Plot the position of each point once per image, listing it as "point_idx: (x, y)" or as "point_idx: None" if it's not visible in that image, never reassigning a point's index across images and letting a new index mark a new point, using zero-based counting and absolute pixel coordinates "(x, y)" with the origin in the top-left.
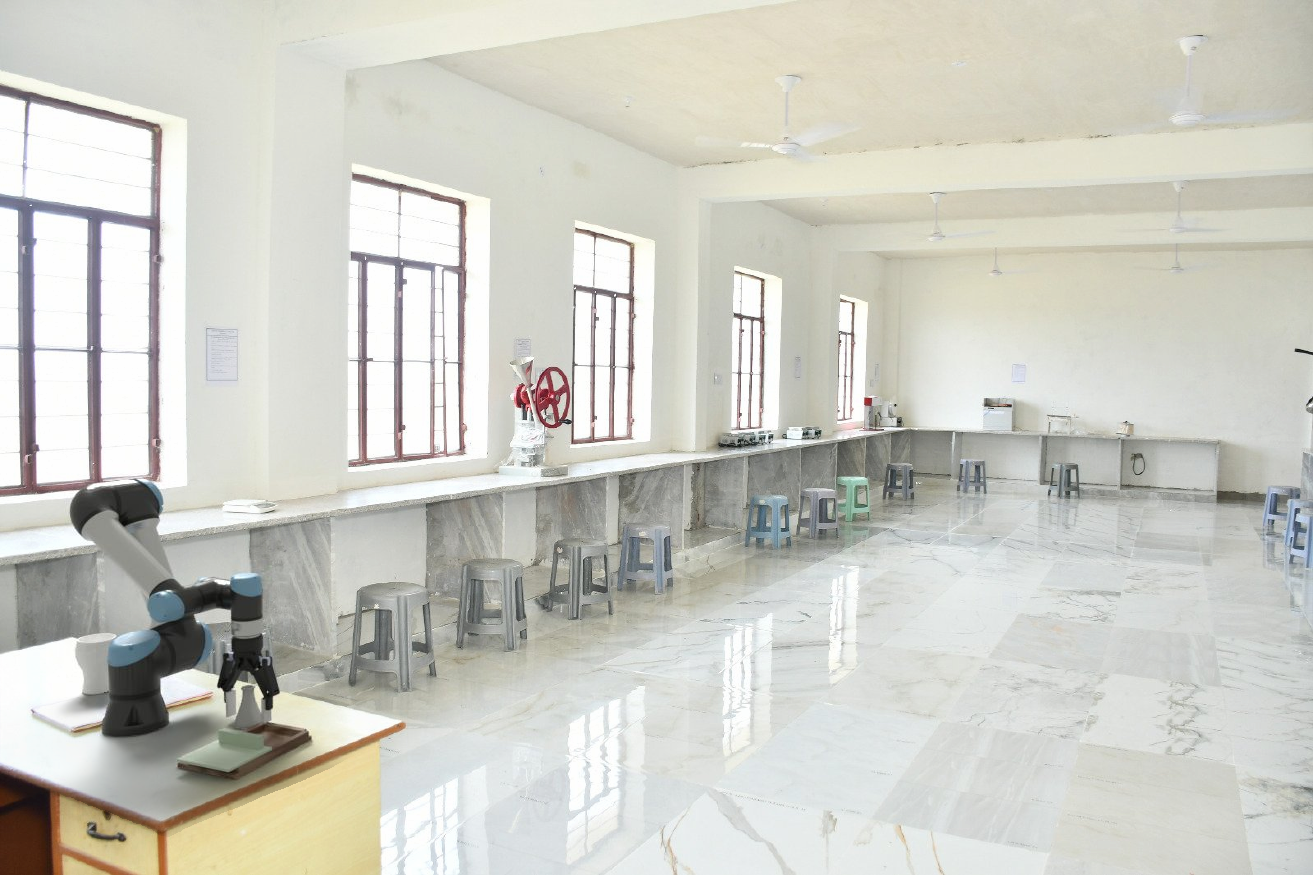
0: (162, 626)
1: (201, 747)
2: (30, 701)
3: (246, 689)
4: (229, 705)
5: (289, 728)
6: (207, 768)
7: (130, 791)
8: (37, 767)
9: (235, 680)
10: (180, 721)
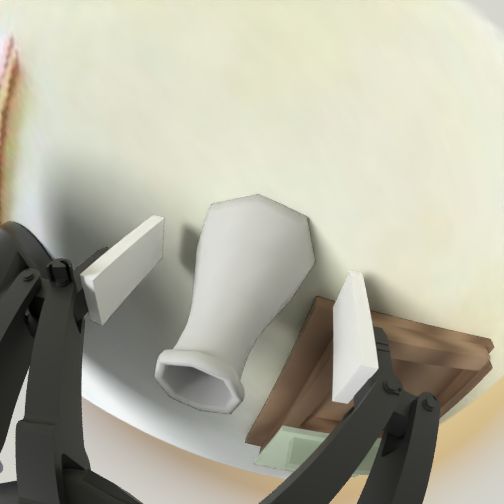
0: None
1: (267, 450)
2: None
3: (214, 408)
4: (137, 278)
5: (448, 366)
6: None
7: (236, 460)
8: (83, 394)
9: (69, 347)
10: (59, 245)
